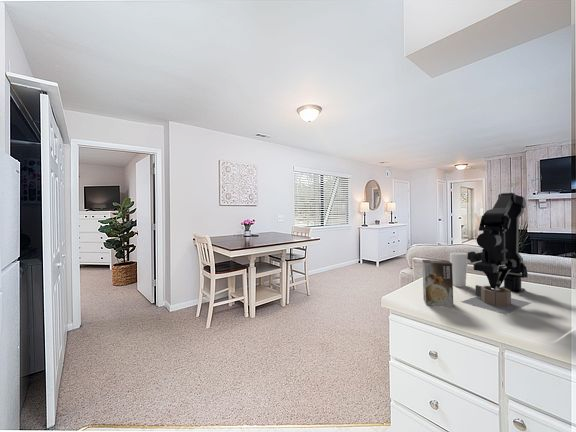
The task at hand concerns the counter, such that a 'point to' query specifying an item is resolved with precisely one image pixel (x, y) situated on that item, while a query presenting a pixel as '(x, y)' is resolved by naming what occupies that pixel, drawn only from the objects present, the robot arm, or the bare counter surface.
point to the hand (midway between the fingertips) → (495, 287)
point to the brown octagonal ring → (494, 295)
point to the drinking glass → (459, 268)
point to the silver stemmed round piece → (497, 285)
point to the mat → (500, 309)
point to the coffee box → (437, 283)
